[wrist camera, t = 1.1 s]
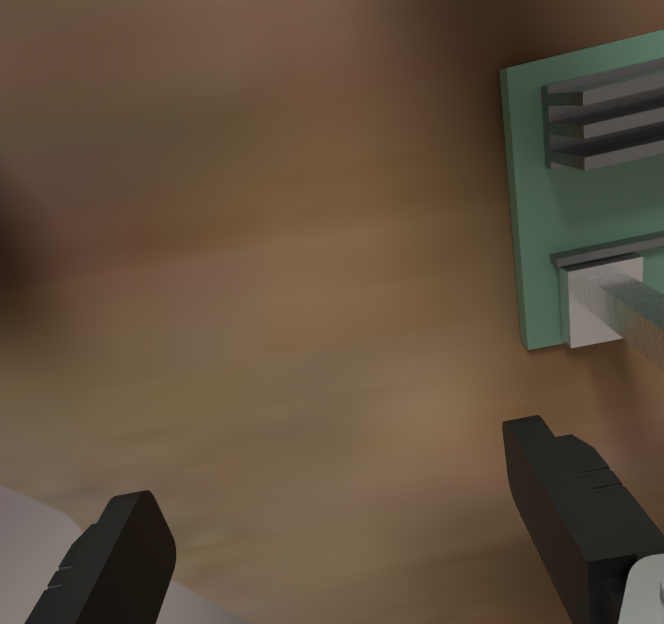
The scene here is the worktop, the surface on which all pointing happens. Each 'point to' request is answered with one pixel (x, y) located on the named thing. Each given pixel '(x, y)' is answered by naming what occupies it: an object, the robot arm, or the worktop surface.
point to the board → (572, 187)
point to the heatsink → (605, 134)
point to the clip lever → (611, 305)
